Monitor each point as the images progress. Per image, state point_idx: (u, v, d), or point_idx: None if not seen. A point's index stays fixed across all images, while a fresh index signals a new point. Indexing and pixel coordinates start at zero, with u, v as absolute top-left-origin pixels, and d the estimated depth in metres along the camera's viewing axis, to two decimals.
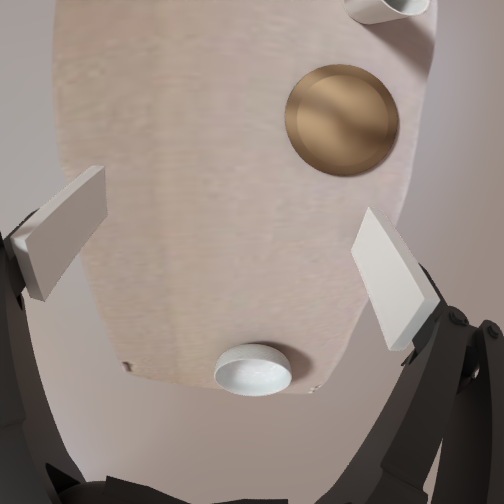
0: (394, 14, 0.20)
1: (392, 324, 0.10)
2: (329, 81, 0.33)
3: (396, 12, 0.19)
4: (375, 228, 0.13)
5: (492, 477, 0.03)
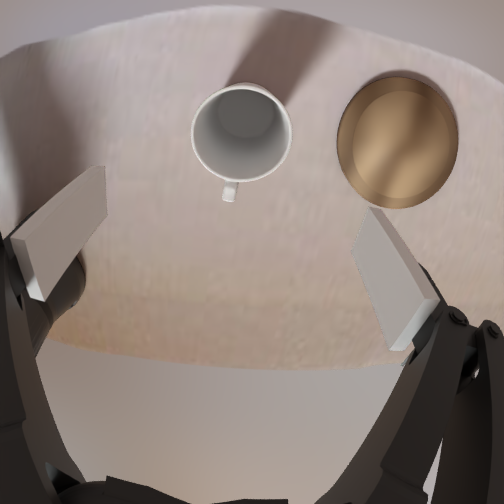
0: None
1: (392, 324, 0.10)
2: (360, 161, 0.30)
3: (290, 144, 0.19)
4: (375, 228, 0.13)
5: (492, 477, 0.03)
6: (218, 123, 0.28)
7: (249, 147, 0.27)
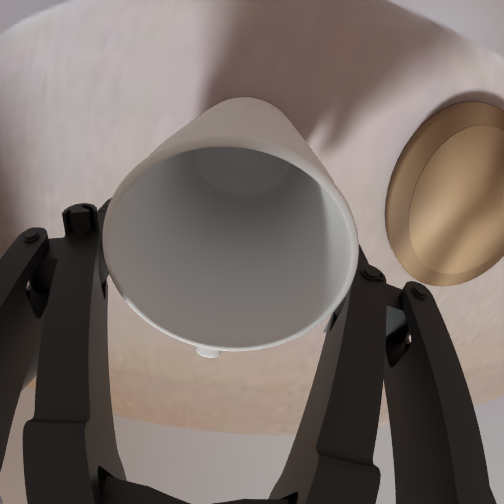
0: None
1: None
2: (416, 229, 0.19)
3: None
4: None
5: (454, 455, 0.04)
6: (196, 171, 0.17)
7: (248, 222, 0.16)
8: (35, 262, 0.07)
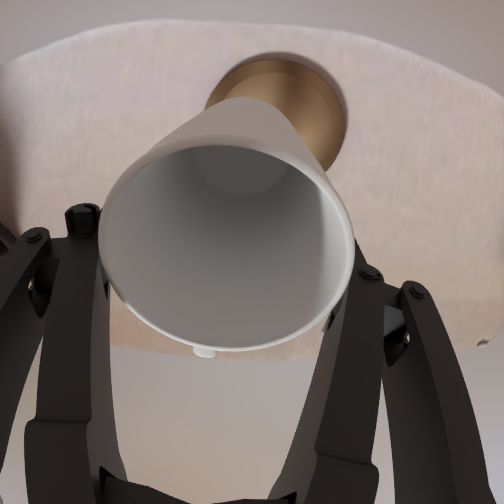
0: None
1: None
2: None
3: None
4: None
5: (453, 455, 0.04)
6: (194, 171, 0.16)
7: (247, 222, 0.15)
8: (37, 262, 0.07)
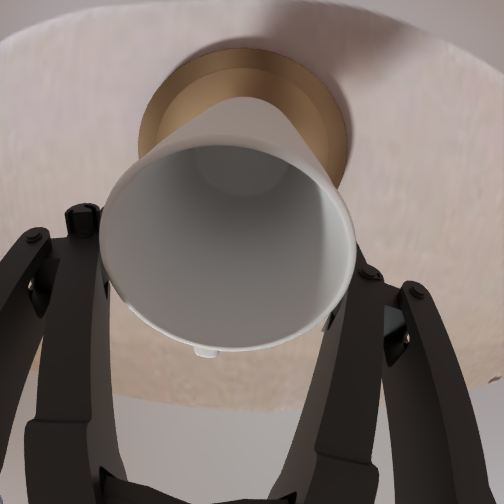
0: None
1: None
2: None
3: None
4: None
5: (453, 455, 0.04)
6: (195, 171, 0.16)
7: (248, 222, 0.15)
8: (37, 262, 0.07)
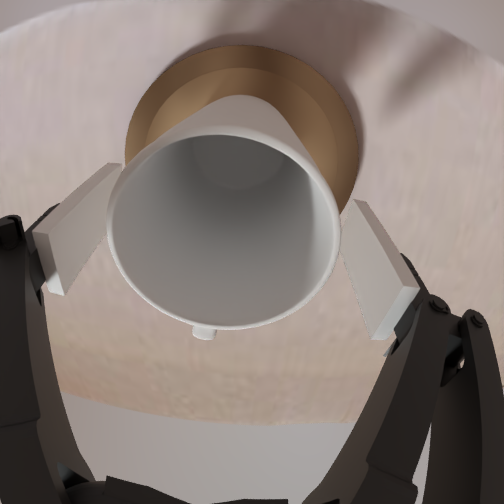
0: None
1: (373, 313, 0.10)
2: None
3: None
4: (359, 220, 0.13)
5: (484, 470, 0.04)
6: (194, 165, 0.17)
7: (244, 213, 0.16)
8: None
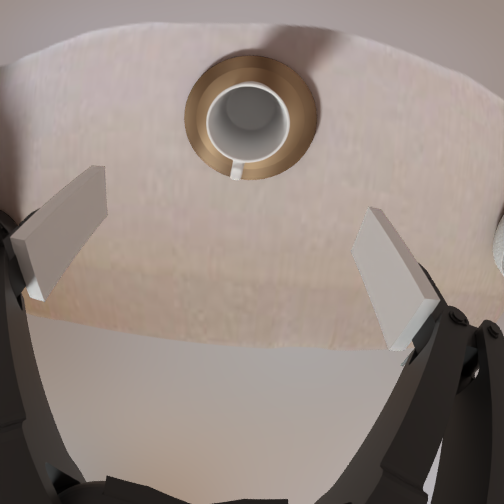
0: None
1: (392, 324, 0.10)
2: (206, 138, 0.35)
3: None
4: (375, 228, 0.13)
5: (492, 477, 0.03)
6: (226, 116, 0.31)
7: (253, 137, 0.30)
8: None
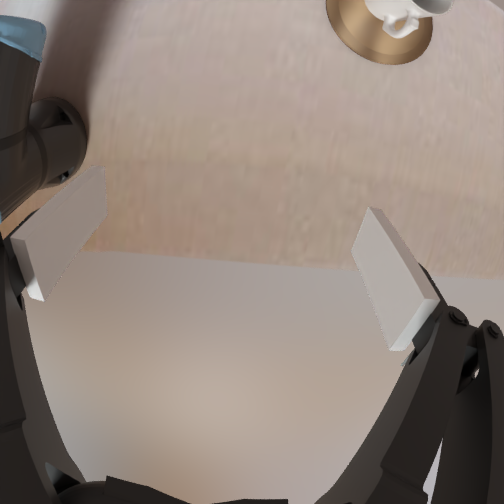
0: (447, 2, 0.17)
1: (392, 324, 0.10)
2: (347, 19, 0.28)
3: (451, 3, 0.16)
4: (375, 228, 0.13)
5: (492, 477, 0.03)
6: (371, 2, 0.25)
7: (400, 17, 0.24)
8: None
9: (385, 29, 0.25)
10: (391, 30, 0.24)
